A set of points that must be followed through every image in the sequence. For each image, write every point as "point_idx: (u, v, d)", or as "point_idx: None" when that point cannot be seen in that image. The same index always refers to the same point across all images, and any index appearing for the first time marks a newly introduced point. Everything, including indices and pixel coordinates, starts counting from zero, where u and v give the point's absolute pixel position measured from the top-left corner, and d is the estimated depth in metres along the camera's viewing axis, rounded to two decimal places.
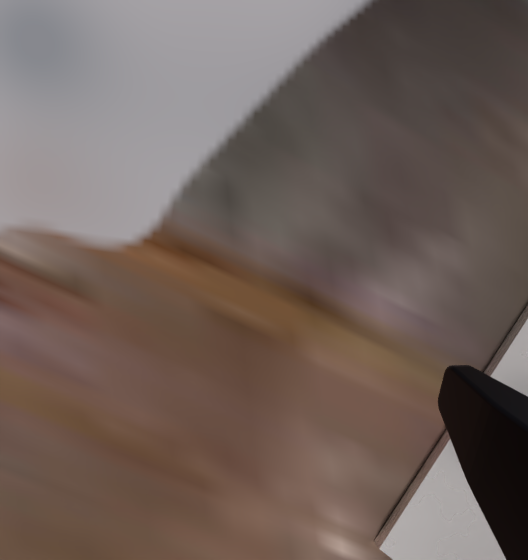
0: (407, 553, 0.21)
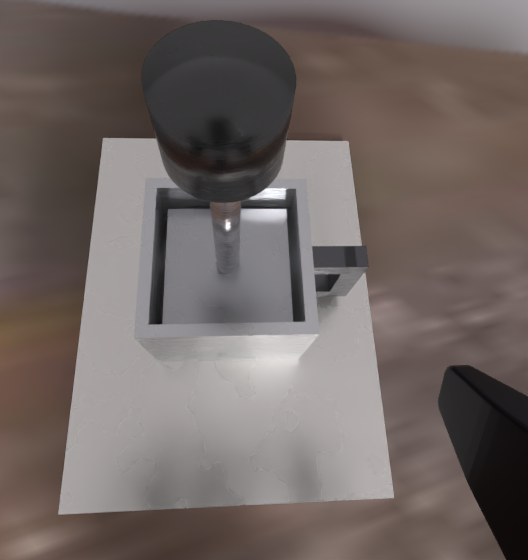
0: (91, 495, 0.18)
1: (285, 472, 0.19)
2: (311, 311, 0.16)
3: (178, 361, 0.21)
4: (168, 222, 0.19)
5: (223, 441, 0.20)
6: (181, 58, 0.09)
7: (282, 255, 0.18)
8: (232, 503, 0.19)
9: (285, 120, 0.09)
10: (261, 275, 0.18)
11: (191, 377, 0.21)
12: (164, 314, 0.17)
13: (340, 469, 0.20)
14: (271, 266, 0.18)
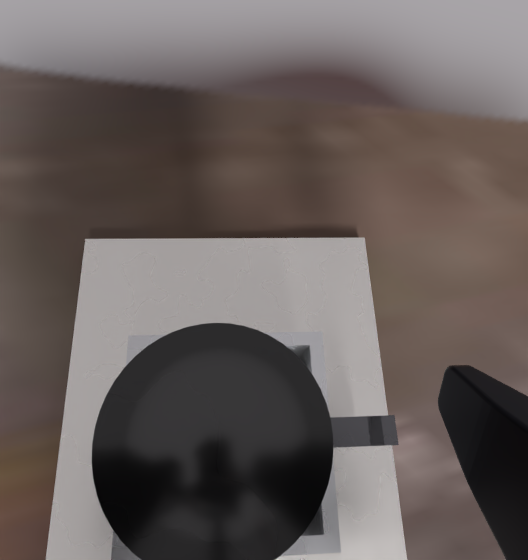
0: None
1: None
2: (331, 519, 0.13)
3: None
4: None
5: None
6: (155, 406, 0.06)
7: None
8: None
9: None
10: None
11: None
12: None
13: None
14: None
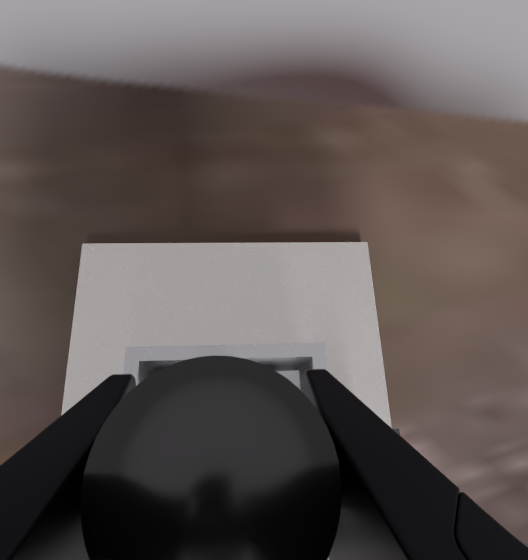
0: None
1: None
2: None
3: None
4: None
5: None
6: (149, 448, 0.05)
7: None
8: None
9: None
10: None
11: None
12: None
13: None
14: None
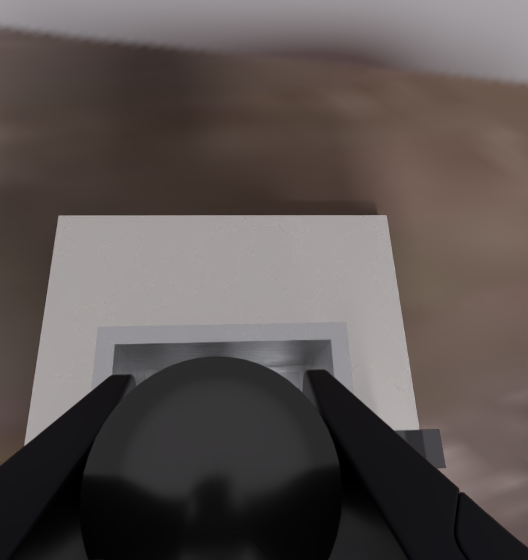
0: None
1: None
2: None
3: None
4: None
5: None
6: (149, 449, 0.05)
7: None
8: None
9: None
10: None
11: None
12: None
13: None
14: None
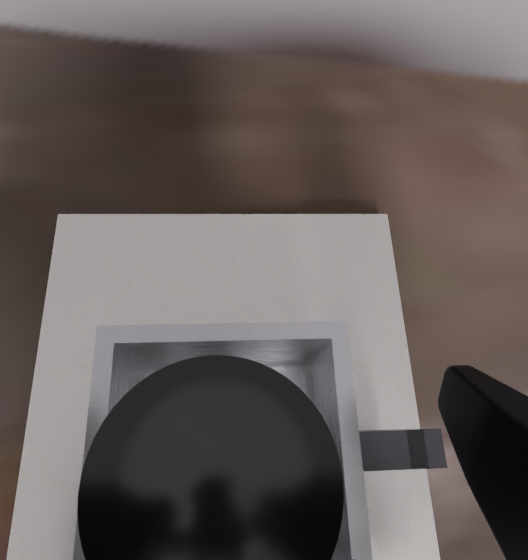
0: None
1: None
2: None
3: None
4: None
5: None
6: (148, 449, 0.05)
7: None
8: None
9: None
10: None
11: None
12: None
13: None
14: None
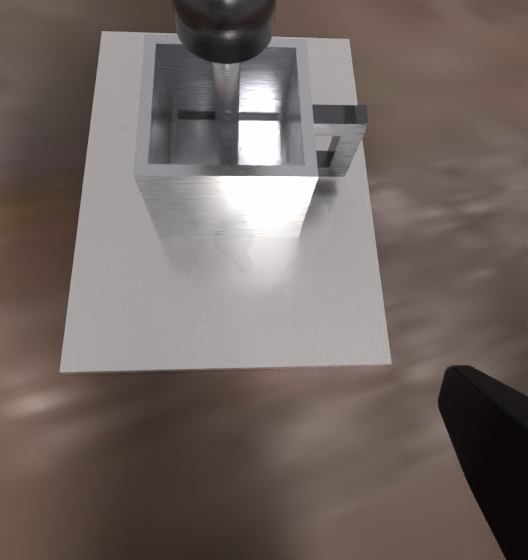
0: (91, 356, 0.19)
1: (284, 339, 0.20)
2: (310, 156, 0.16)
3: (178, 236, 0.21)
4: (176, 130, 0.22)
5: (222, 310, 0.20)
6: None
7: (275, 158, 0.21)
8: (231, 365, 0.19)
9: None
10: None
11: (191, 251, 0.21)
12: None
13: (338, 337, 0.20)
14: None
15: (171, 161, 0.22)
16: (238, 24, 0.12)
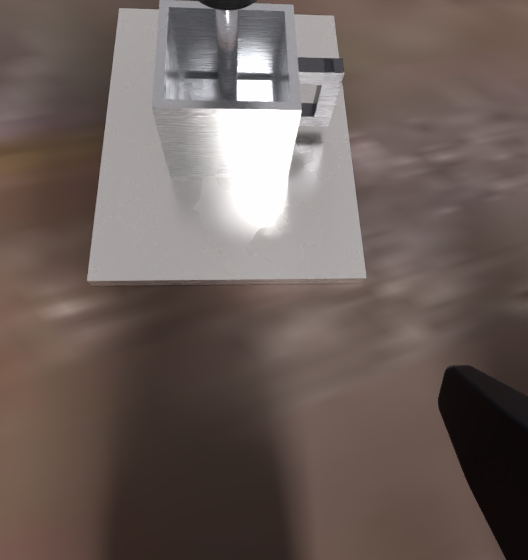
0: (113, 268, 0.22)
1: (275, 257, 0.23)
2: (295, 95, 0.20)
3: (185, 174, 0.24)
4: (184, 87, 0.25)
5: (223, 234, 0.23)
6: None
7: None
8: (231, 277, 0.22)
9: None
10: None
11: (197, 187, 0.24)
12: None
13: (321, 257, 0.23)
14: None
15: None
16: None
